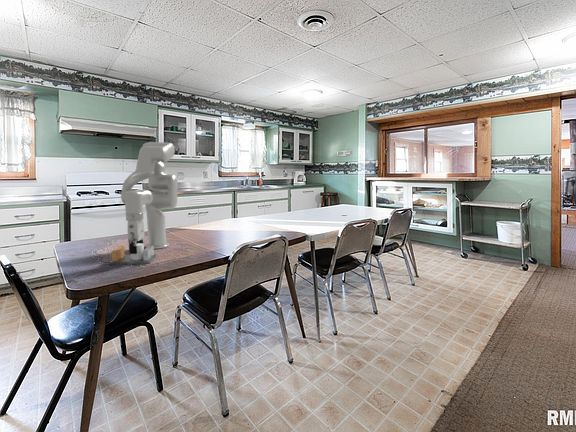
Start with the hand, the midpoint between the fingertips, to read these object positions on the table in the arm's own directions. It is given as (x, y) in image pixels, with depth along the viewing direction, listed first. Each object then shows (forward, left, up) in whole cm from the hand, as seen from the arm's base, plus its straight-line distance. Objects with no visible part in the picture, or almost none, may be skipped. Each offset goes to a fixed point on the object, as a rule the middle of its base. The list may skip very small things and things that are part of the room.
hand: (136, 251), depth 151 cm
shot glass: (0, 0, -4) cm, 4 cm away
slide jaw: (-4, -8, -3) cm, 9 cm away
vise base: (-1, -1, -5) cm, 5 cm away
